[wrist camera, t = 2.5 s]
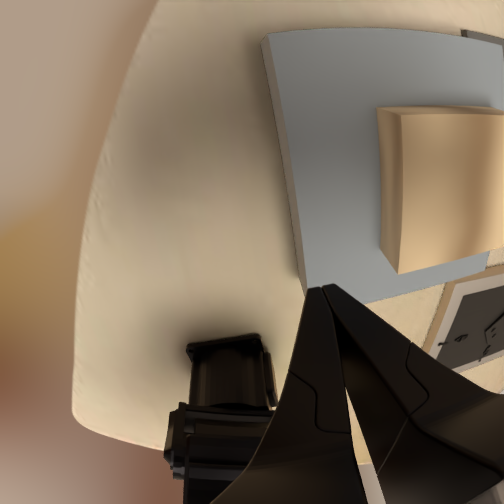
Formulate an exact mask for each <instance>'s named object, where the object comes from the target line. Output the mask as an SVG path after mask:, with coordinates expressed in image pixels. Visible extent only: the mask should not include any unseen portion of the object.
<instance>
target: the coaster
mask: <svg viewBox="0 0 504 504" xmlns="http://www.w3.org/2000/svg"><path fill="white" fill-rule="evenodd" d="M376 111H377V122H378V135H379V152H380V176H381V239H380V250H381V251H382V253H383V254H384V256H385V257H386V258H387V260H388V261H389V263H390V264H391V266H392V267H393V269H394V270H395V271H396V273H397V274H398V275H399V274H403V273H408V272H412V271H416V270H420V269H424V268H428V267H431V266H435V265H439V264H443V263H447V262H451V261H454V260H458V259H462V258H465V257H469V256H472V255H476V254H480V253H483V252H487V251H490V250H493V249H497V248H500V247H503V246H504V111H502V110H499V109H496V108H493V107H482V106H456V105H419V106H391V107H376Z"/></svg>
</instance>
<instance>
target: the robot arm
mask: <svg viewBox="0 0 504 504" xmlns="http://www.w3.org/2000/svg"><path fill="white" fill-rule="evenodd" d="M191 349H193V350H191ZM186 352H187V354H188V356H189V358H190V360H191V362H192V370H191V381H190V393H189V404H186V403H184V402H179V408H178V409H176V410H175V411H172V412H170V415H169V424H168V431H167V437H166V442H165V448H164V459H165V460H166V461H167V462H168V463H169V464H170V467H171V468H170V469H171V470H173V479H177V480H184V488H183V504H368V502H367V498H366V494H365V491H364V487H363V483H362V479H361V476H360V472H359V469H358V465H357V461H356V457H355V453H354V448H353V441H352V435H351V425H350V417H349V410H348V402H347V395H346V390H347V392H348V395H349V398H350V400H351V403H352V406H353V409H354V411H355V414H356V417H357V420H358V422H359V425H360V428H361V431H362V434H363V436H364V439H365V442H366V445H367V448H368V451H369V454H370V457H371V459H372V462H373V465H374V468H375V471H376V474H377V477H378V480H379V483H380V486H381V490H382V493H383V496H384V499H385V501H386V504H504V394H497V393H493V392H490V391H488V390H485V389H483V388H481V387H480V386H478V385H476V384H475V383H473V382H471V381H470V380H468V379H466V378H465V377H463V376H462V375H460V374H458V373H457V372H455V371H453V370H452V369H450V368H448V367H447V366H445V365H444V364H442V363H441V362H439V361H438V360H436V359H434V358H433V357H432V356H430V355H429V354H428V353H426V352H425V351H424V350H422V349H421V348H420V347H418V346H417V345H416V344H414V343H413V342H411V341H410V340H409V339H408V338H406V337H405V336H404V335H403V334H401V333H400V332H399V331H397V330H396V329H395V328H393V327H392V326H391V325H390V324H388V323H387V322H386V321H384V320H383V319H382V318H380V317H379V316H378V315H376V314H375V313H374V312H372V311H371V310H370V309H368V308H367V307H366V306H365V305H363V304H362V303H361V302H359V301H358V300H357V299H355V298H354V297H353V296H351V295H350V294H349V293H347V292H346V291H345V290H343V289H342V288H341V287H339V286H338V285H336V284H335V283H331V284H327V285H322V287H320V286H317V287H312V288H308V289H307V291H306V296H305V300H304V305H303V309H302V314H301V318H300V323H299V327H298V332H297V336H296V340H295V344H294V349H293V353H292V357H291V361H290V365H289V369H288V373H287V376H286V380H285V384H284V387H283V390H282V394H281V397H280V400H279V402H278V396H277V388H276V380H275V373H274V367H273V363H272V359H271V355H270V353H268V352H265V350H264V347H263V343H262V339H261V336H260V335H257V334H254V335H248V336H242V337H235V338H229V339H222V340H216V341H209V342H201V343H194V344H188V345H187V346H186ZM345 387H346V389H345ZM276 406H277V407H276ZM272 407H276V410H272Z"/></svg>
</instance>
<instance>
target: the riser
mask: <svg viewBox="0 0 504 504" xmlns="http://www.w3.org/2000/svg"><path fill="white" fill-rule="evenodd" d="M260 45H261V50H262V54H263V59H264V64H265V69H266V74H267V79H268V84H269V89H270V95H271V100H272V105H273V111H274V116H275V122H276V127H277V133H278V138H279V144H280V150H281V156H282V162H283V168H284V174H285V181H286V187H287V193H288V200H289V206H290V213H291V220H292V227H293V234H294V241H295V248H296V256H297V263H298V271H299V278H300V282H301V285H302V289H303V292H304V296H306V291H307V289H308V288H312V287H317V286H320V287H322V285H327V284H331V283H335V284H336V285H338V286H339V287H341V288H342V289H343V290H345V291H346V292H347V293H349V294H350V295H351V296H353V297H354V298H355V299H357V300H358V301H359V302H361V303H362V304H367V303H371V302H375V301H379V300H383V299H387V298H391V297H395V296H399V295H403V294H407V293H410V292H414V291H418V290H421V289H425V288H429V287H432V286H436V285H439V284H443V283H446V282H450V281H453V280H456V279H460V278H463V277H466V276H469V275H473V274H476V273H479V272H482V271H485V268H486V264H487V260H488V256H489V252H490V251H487V252H483V253H480V254H476V255H472V256H469V257H465V258H462V259H458V260H454V261H451V262H447V263H443V264H439V265H435V266H431V267H428V268H424V269H420V270H416V271H412V272H408V273H403V274H399V275H398V274H397V273H396V271H395V270H394V269H393V267H392V266H391V264H390V263H389V261H388V260H387V258H386V257H385V256H384V254H383V253H382V251H381V250H380V239H381V176H380V152H379V135H378V122H377V111H376V107H391V106H419V105H456V106H482V107H493V108H496V109H499V110H502V111H504V58H503V49H502V45H498V44H494V43H490V42H485V41H481V40H476V39H471V38H466V37H461V36H455V35H449V34H442V33H435V32H427V31H417V30H406V29H392V28H322V29H306V30H295V31H285V32H277V33H269V34H267V35H266V36H265V38H264V39H263V40H262V41H261V43H260Z"/></svg>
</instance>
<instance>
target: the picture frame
mask: <svg viewBox="0 0 504 504" xmlns="http://www.w3.org/2000/svg"><path fill="white" fill-rule="evenodd" d="M422 350H424V351H425V352H426V353H428V354H429V355H430V356H432V357H433V358H434V359H436V360H438V361H439V362H441V363H442V364H444V365H445V366H447V367H448V368H450V369H452V370H453V371H455V372H457V373H460V372H463V371H466V370H468V369H471V368H474V367H476V366H479V365H482V364H484V363H487V362H489V361H491V360H494V359H496V358H499V357H501V356H503V355H504V264H502V265H498V266H493V267H488V268H485V271H482V272H479V273H476V274H473V275H469V276H466V277H463V278H460V279H456V280H453V281H450V282H446V285H445V288H444V291H443V294H442V297H441V300H440V303H439V306H438V309H437V312H436V314H435V317H434V320H433V322H432V325H431V328H430V330H429V333H428V335H427V338H426V340H425V343H424V345H423V348H422Z"/></svg>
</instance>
